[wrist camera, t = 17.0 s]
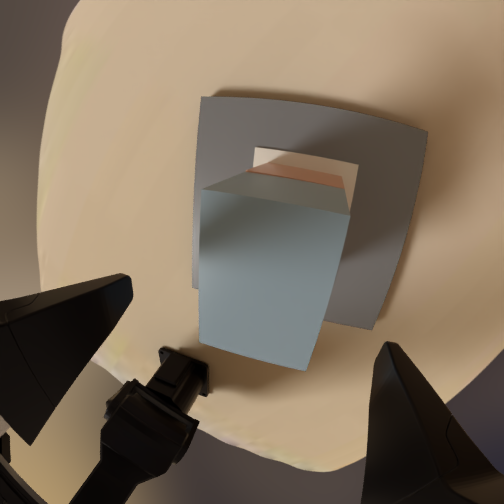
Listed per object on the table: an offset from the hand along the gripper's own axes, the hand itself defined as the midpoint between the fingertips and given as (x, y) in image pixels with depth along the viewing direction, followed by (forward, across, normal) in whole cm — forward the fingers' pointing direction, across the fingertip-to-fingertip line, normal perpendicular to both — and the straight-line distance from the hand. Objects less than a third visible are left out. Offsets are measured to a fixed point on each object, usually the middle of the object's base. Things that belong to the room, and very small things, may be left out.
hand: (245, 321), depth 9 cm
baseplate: (+13, 0, 0) cm, 13 cm away
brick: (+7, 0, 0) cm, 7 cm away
